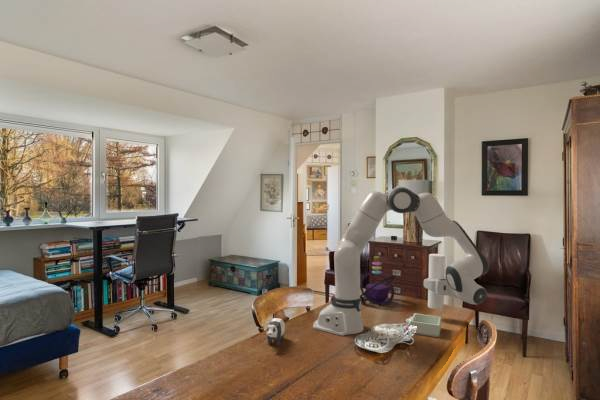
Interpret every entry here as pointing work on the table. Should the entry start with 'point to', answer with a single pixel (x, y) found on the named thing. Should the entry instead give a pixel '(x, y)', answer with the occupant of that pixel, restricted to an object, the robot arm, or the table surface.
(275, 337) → the giant panda
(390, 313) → the table surface
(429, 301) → the cylindrical container
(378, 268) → the decorative bottle
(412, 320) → the box
